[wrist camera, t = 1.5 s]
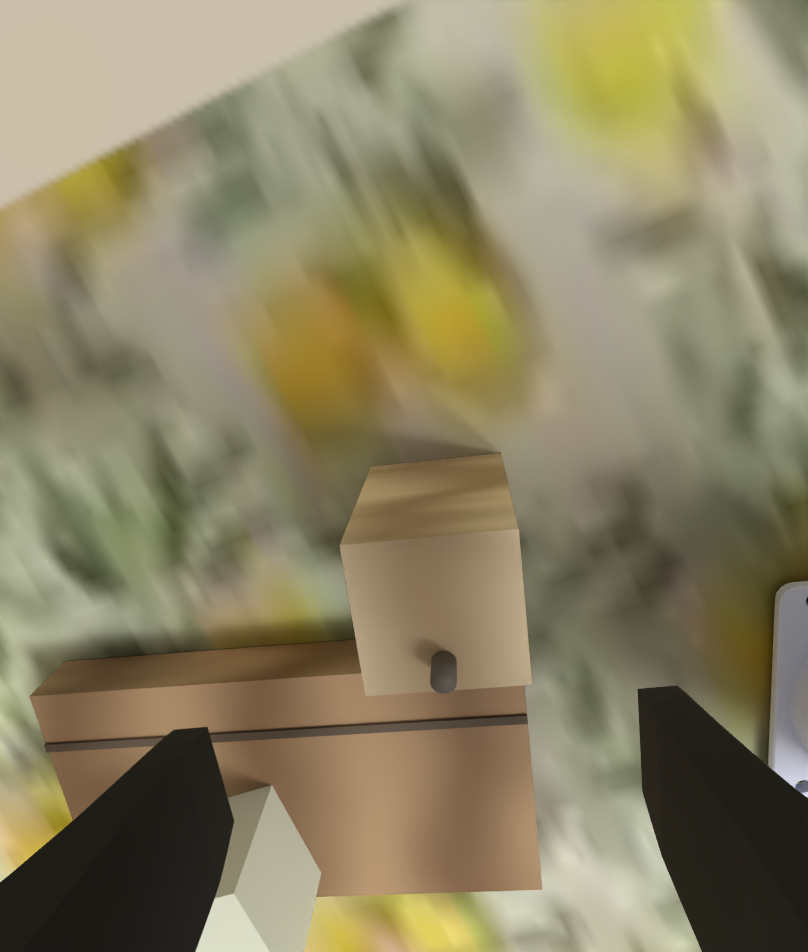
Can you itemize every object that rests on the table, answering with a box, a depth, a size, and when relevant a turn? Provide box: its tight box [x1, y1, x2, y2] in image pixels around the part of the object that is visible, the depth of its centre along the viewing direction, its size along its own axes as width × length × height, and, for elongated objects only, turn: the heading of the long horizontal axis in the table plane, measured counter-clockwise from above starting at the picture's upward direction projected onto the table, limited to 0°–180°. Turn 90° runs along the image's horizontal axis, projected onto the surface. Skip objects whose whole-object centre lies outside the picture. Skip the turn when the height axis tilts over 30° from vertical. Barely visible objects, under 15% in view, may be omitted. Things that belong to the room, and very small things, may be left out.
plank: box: [30, 639, 542, 897], centre depth 23 cm, size 16×9×2 cm, turn 97°
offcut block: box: [196, 785, 321, 952], centre depth 21 cm, size 4×4×4 cm
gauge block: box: [339, 453, 532, 696], centre depth 18 cm, size 4×4×7 cm
